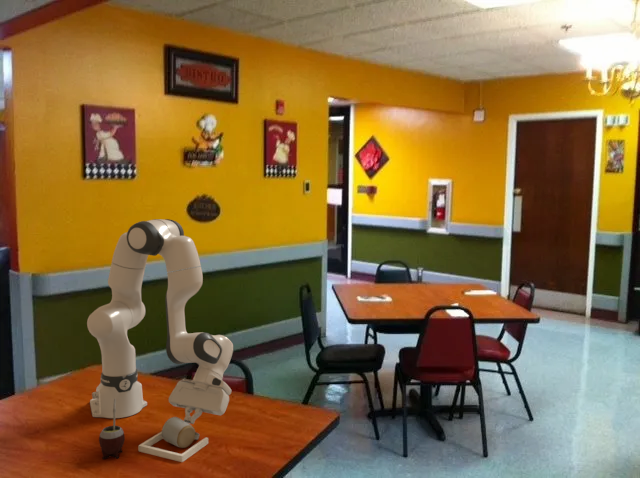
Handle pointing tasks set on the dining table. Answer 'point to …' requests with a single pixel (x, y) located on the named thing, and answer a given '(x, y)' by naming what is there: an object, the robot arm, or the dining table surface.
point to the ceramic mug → (179, 432)
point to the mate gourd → (112, 439)
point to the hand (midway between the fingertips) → (188, 422)
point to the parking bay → (168, 454)
